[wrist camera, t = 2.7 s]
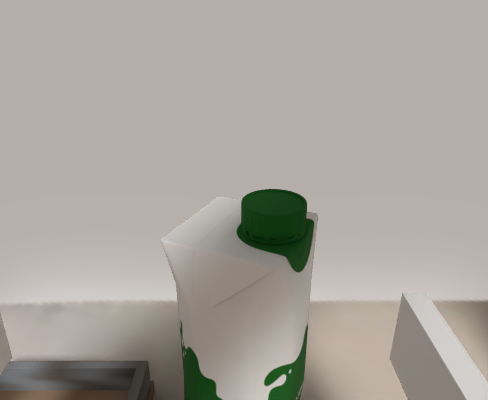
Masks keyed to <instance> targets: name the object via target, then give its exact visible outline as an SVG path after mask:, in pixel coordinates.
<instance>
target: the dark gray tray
mask: <svg viewBox="0 0 488 400" xmlns="http://www.w3.org/2000/svg"><path fill="white" fill-rule="evenodd" d="M153 393H154V382H153V381H150V374H149V366H148V361H17V362H9V363H8V365H7V366H6V368H5V369H4V370H3V372H2V373H1V375H0V400H152V397H153Z"/></svg>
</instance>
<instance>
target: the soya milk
mask: <svg viewBox="0 0 488 400" xmlns="http://www.w3.org/2000/svg"><path fill="white" fill-rule="evenodd" d="M317 220H318V215H317V214H315V213H311V212H307V202H306V200H305V198H304V197H302V196H301V195H299V194H297V193H294V192H291V191H287V190H280V189H266V190H258V191H254V192H251V193H249V194H247V195H246V196H245V197H243V199H242V200H237V199H232V198H226V197H221V196H219V197H217V198H216V199H214V200H213V201H212V202H210V203H209V204H208V205H206V206H205V207H203V208H202V209H201V210H199V211H198V212H197V213H195V214H194V215H193V216H191V217H190V218H189V219H187V220H186V221H184V222H183V223H182V224H180V225H179V226H178V227H176V228H175V229H174V230H173V231H171V232H170V233H168V234H167V235H166V236H164V237H163V238H161V242H162V245H163V248H164V251H165V254H166V257H167V259H168V262H169V265H170V268H171V270H172V273H173V276H174V279H175V282H176V288H177V299H178V311H179V322H180V333H181V345H182V356H183V368H184V394H185V400H300V396H301V391H302V387H303V382H304V371H305V358H306V344H307V331H308V317H309V303H310V288H311V276H312V266H313V257H314V247H315V237H316V228H317Z"/></svg>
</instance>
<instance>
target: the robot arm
mask: <svg viewBox="0 0 488 400" xmlns="http://www.w3.org/2000/svg"><path fill="white" fill-rule="evenodd" d="M11 359H12V354H11V350H10V347H9V343H8V339H7V336H6V332H5V328H4V325H3V321H2V318H1V314H0V375H1V373H2V372H3V370H4V369H5V368H6V366H7V365H8V363H9V362H10V360H11ZM390 360H391V362H392V365H393V367H394V369H395V371H396V374H397V376H398V378H399V380H400V383H401V385H402V387H403V389H404V392H405V394H406V396H407V398H408V400H488V382H487V381H486V379H485V378H484V376H483V375H482V374H481V372H480V371H479V369H478V368H477V366H476V365H475V363H474V362H473V360H472V359H471V358H470V356H469V355H468V353H467V352H466V350H465V349H464V347H463V346H462V344H461V343H460V342H459V340H458V339H457V337H456V336H455V334H454V333H453V331H452V330H451V329H450V327H449V326H448V324H447V323H446V321H445V320H444V318H443V317H442V315H441V314H440V313H439V311H438V310H437V308H436V307H435V305H434V304H433V302H432V301H431V299H430V298H429V297H428V295H427V294H426V293H402V298H401V303H400V308H399V313H398V319H397V324H396V329H395V334H394V339H393V344H392V349H391V354H390Z"/></svg>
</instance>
